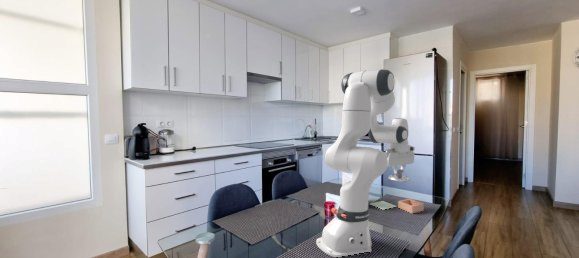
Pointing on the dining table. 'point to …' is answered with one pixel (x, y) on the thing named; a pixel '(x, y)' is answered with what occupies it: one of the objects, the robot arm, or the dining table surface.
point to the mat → (382, 205)
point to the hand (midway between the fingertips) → (398, 172)
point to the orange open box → (411, 206)
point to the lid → (399, 177)
